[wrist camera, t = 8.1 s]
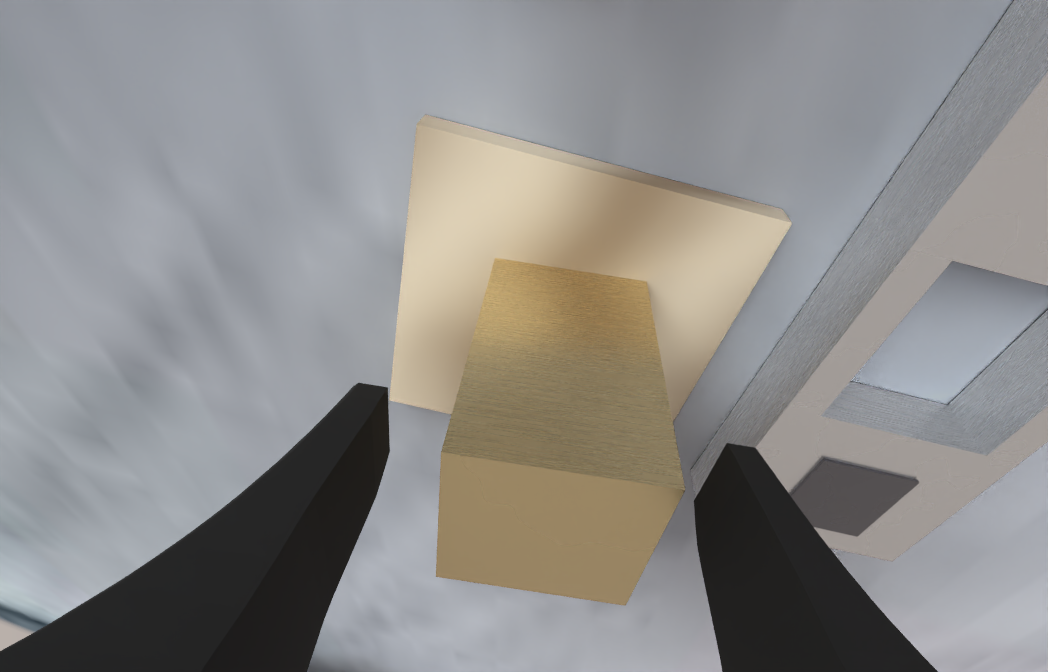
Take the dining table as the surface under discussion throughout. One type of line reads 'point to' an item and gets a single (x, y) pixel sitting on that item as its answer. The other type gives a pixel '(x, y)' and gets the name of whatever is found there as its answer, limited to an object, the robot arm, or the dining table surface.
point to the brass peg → (558, 438)
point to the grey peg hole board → (887, 297)
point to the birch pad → (564, 249)
